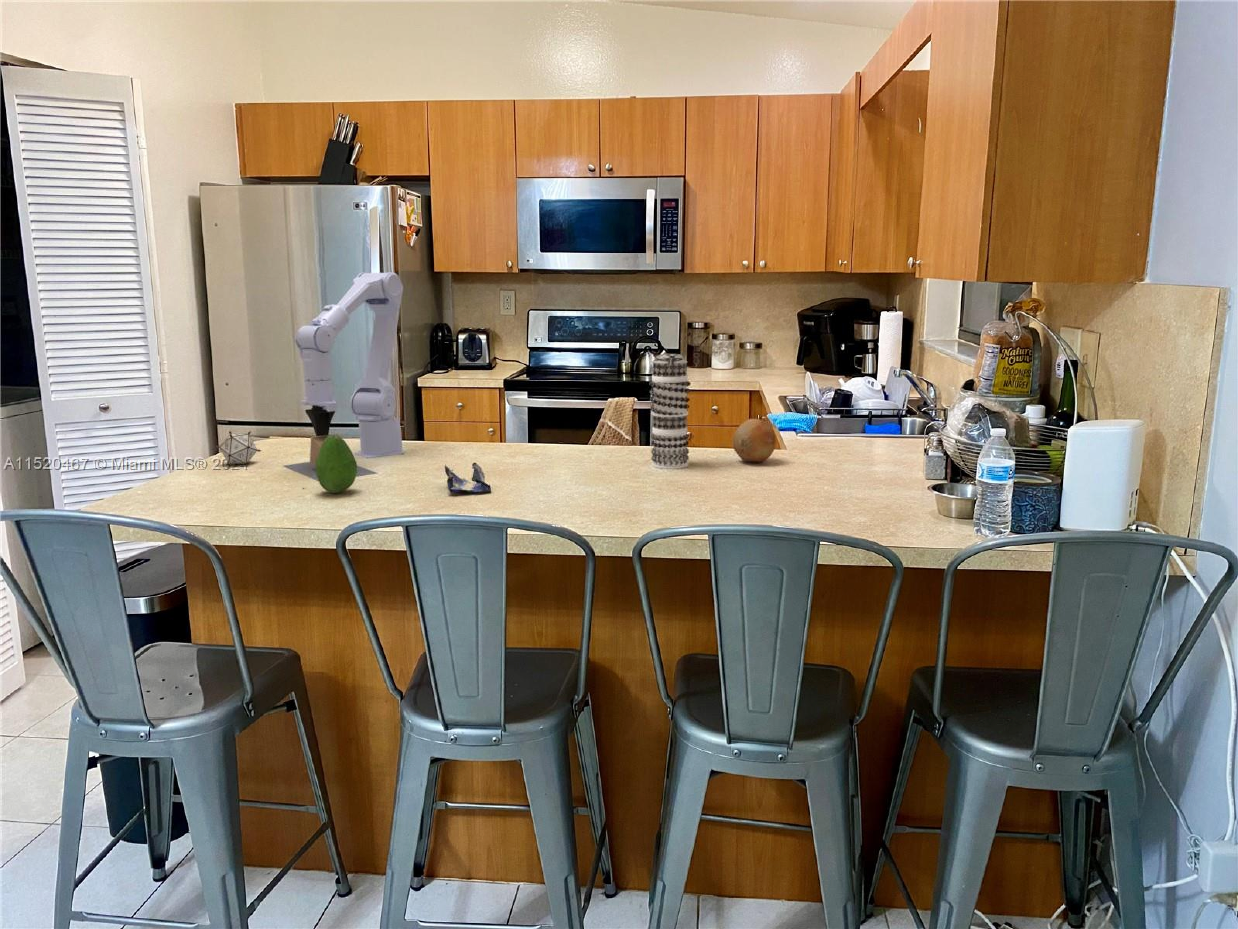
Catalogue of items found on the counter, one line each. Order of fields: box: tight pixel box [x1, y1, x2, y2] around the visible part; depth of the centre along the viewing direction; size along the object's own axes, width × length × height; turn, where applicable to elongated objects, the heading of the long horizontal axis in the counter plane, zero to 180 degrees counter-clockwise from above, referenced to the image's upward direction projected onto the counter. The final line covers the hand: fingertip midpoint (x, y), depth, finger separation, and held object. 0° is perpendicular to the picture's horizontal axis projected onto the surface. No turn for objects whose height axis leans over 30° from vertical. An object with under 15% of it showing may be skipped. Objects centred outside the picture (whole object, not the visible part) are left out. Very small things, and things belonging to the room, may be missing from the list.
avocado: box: [316, 434, 358, 494], centre depth 183 cm, size 8×8×12 cm
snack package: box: [444, 462, 492, 496], centre depth 185 cm, size 12×6×12 cm
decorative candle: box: [648, 353, 692, 470], centre depth 204 cm, size 9×9×25 cm
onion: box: [732, 418, 777, 464], centre depth 207 cm, size 10×10×10 cm
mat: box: [282, 461, 378, 482], centre depth 205 cm, size 13×23×1 cm, turn 40°
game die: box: [215, 430, 262, 467], centre depth 211 cm, size 9×8×10 cm
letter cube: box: [309, 433, 339, 467], centre depth 204 cm, size 6×6×6 cm
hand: (322, 439), depth 205 cm, fingers closed
